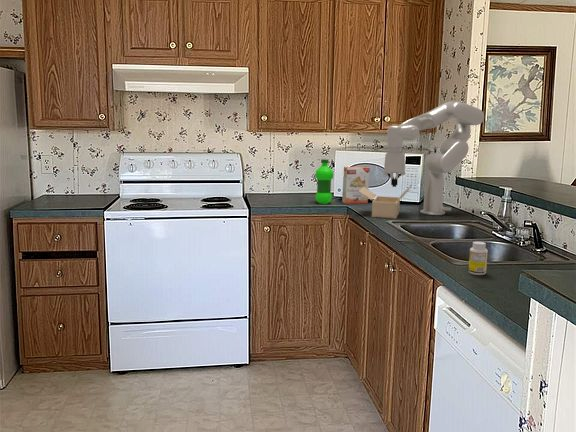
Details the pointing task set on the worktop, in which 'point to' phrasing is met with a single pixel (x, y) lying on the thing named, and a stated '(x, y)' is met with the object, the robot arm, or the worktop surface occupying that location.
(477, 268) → the supplement bottle
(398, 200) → the flap near
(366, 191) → the flap far
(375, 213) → the carton
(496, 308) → the worktop surface
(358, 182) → the cracker box
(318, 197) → the plastic bottle
